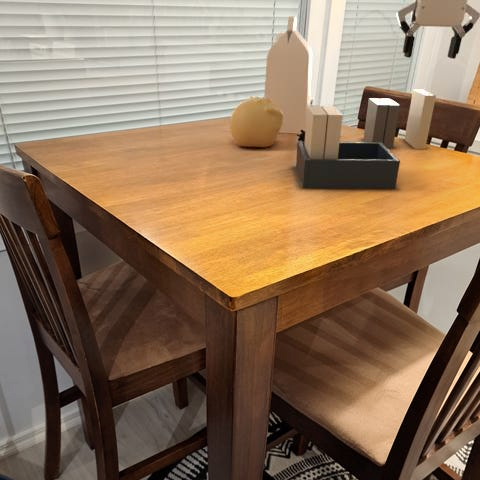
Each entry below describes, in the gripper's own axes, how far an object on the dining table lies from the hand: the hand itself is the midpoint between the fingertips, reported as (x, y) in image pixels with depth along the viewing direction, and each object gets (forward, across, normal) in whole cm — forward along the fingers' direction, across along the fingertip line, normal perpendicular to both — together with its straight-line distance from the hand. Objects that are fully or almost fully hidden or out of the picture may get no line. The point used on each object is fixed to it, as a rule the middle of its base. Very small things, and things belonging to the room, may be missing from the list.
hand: (429, 57), depth 108 cm
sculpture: (+20, +37, 0) cm, 42 cm away
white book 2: (+18, +25, +28) cm, 42 cm away
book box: (+19, +21, +28) cm, 40 cm away
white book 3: (+19, -1, 0) cm, 19 cm away
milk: (+20, +28, -20) cm, 40 cm away
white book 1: (+18, +27, +28) cm, 43 cm away
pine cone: (+20, +22, -1) cm, 30 cm away
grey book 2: (+19, +7, 0) cm, 20 cm away
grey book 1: (+19, +10, 0) cm, 21 cm away
